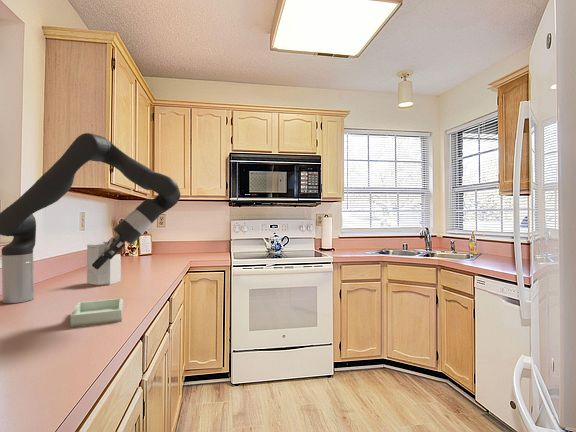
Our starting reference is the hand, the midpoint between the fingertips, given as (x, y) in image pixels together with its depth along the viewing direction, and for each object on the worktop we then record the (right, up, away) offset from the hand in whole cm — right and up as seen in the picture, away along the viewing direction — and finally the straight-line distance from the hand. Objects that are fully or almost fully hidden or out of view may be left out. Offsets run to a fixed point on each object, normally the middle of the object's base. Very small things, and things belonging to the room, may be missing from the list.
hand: (93, 265), depth 108 cm
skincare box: (+1, -6, +1) cm, 6 cm away
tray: (+1, -16, +1) cm, 16 cm away
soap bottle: (-23, -16, +53) cm, 60 cm away
